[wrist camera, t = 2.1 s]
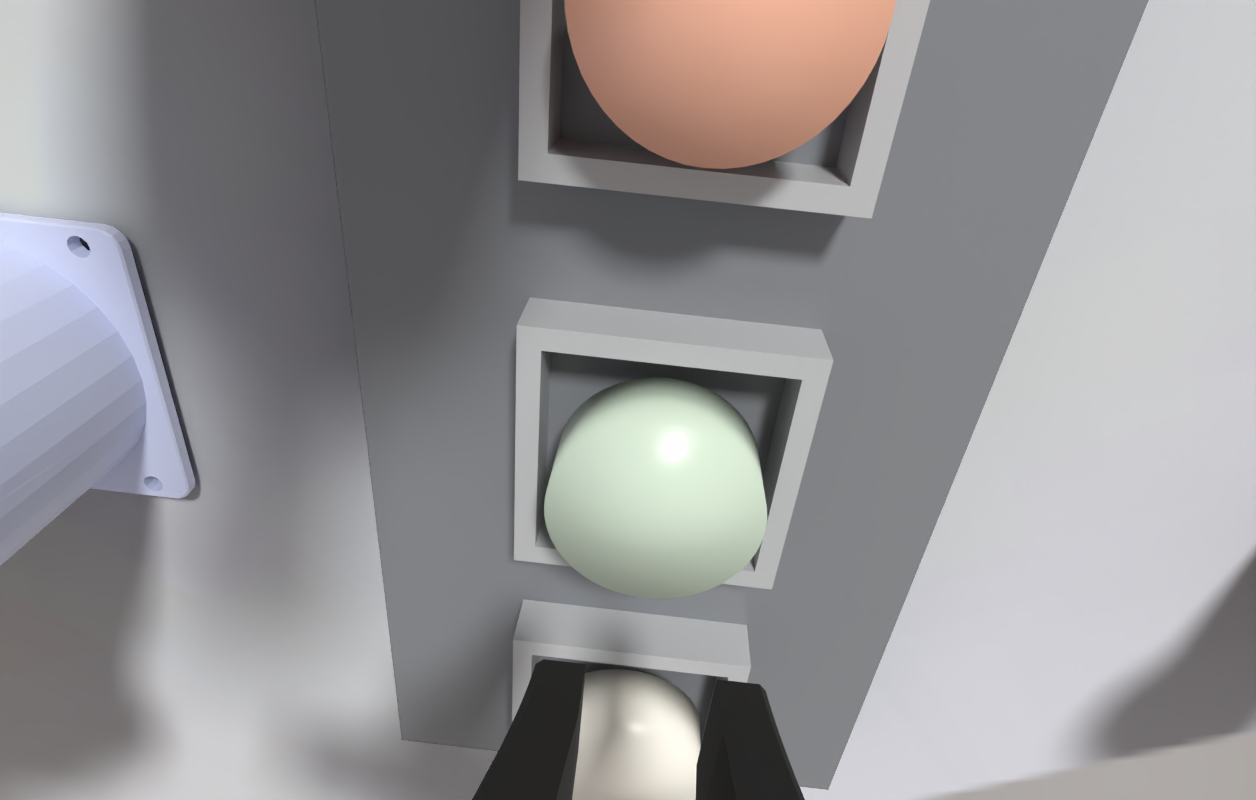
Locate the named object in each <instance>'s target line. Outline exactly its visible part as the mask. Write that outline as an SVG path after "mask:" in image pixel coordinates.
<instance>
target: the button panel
mask: <svg viewBox="0 0 1256 800" xmlns="http://www.w3.org/2000/svg"><path fill="white" fill-rule="evenodd" d="M1147 3H1148V0H896V3H895V8H894V13H893V18H892V21H891V25H890V28H889V31H888V34H887V38H886V41H885V43H884V46H883V48H882V50H881V53H880V55H879V57H878V59H877V62H876V64H875V66H874V67H873V69H872V71H871V73H870V74H869V76H868V78H867V80H866V81H865V83H864V85H863V86H862V87H861V89H860V90H859V92H858V93H857V94H856V96H855V97H854V98H853V100H852V101H851V103H850V104H849V105H848V106H847V107H846V108H845V109H844V110H843V111H842V112H841V114H840V115H839V116H838V117H837V118H836V119H835V120H834V121H833V122H832V123H830V124H829V125H828V126H827V127H826V128H825V129H823V130H822V131H821V132H820V133H819V134H818V135H816V136H815V137H813V138H812V139H810V140H809V141H807V142H806V143H804V144H803V145H801V146H800V147H798V148H796V149H794V150H792V151H790V152H788V153H786V154H784V155H782V156H780V157H777V158H774V159H771V160H769V161H766V162H763V163H759V164H755V165H750V166H746V167H739V168H728V169H713V168H701V167H695V166H689V165H684V164H681V163H678V162H675V161H672V160H669V159H666V158H664V157H662V156H660V155H658V154H656V153H653V152H651V151H649V150H648V149H646V148H645V147H643V146H642V145H640V144H639V143H637V142H635V141H634V140H632V139H631V138H630V137H629V136H628V135H627V134H626V133H624V132H623V131H622V130H621V129H620V128H619V127H617V126H616V124H615V123H614V122H613V121H612V120H611V119H610V118H609V117H608V115H607V114H606V113H605V112H604V111H603V110H602V108H601V107H600V105H599V104H598V102H597V101H596V99H595V98H594V97H593V95H592V94H591V92H590V90H589V88H588V86H587V84H586V82H585V80H584V78H583V77H582V75H581V72H580V69H579V67H578V64H577V62H576V59H575V56H574V54H573V50H572V46H571V42H570V38H569V34H568V29H567V22H566V14H565V4H564V0H315V6H316V14H317V23H318V31H319V40H320V48H321V57H322V65H323V74H324V82H325V91H326V99H327V108H328V116H329V125H330V133H331V142H332V150H333V159H334V167H335V176H336V184H337V193H338V201H339V210H340V218H341V227H342V235H343V244H344V252H345V261H346V269H347V278H348V286H349V295H350V303H351V312H352V320H353V329H354V337H355V346H356V354H357V363H358V371H359V379H360V388H361V396H362V405H363V413H364V422H365V430H366V439H367V447H368V456H369V464H370V473H371V481H372V490H373V498H374V507H375V515H376V524H377V532H378V541H379V549H380V558H381V566H382V575H383V583H384V592H385V600H386V609H387V617H388V626H389V634H390V643H391V651H392V660H393V668H394V677H395V685H396V694H397V702H398V711H399V719H400V728H401V736H402V740H408V741H417V742H425V743H434V744H442V745H451V746H459V747H468V748H476V749H485V750H494V751H499V749H500V747H501V745H502V743H503V741H504V739H505V737H506V734H507V732H508V730H509V728H510V726H511V724H512V722H513V720H514V718H515V715H516V713H517V711H518V709H519V706H520V704H521V702H522V699H523V697H524V694H525V692H526V689H527V687H528V684H529V682H530V679H531V676H532V673H533V670H534V667H535V664H536V663H538V662H540V661H541V660H543V659H546V660H555V661H563V662H572V663H581V664H586V671H585V673H588V672H592V671H597V670H606V669H623V670H633V671H639V672H643V673H647V674H651V675H654V676H656V677H659V678H662V679H664V680H666V681H668V682H670V683H671V684H673V685H675V686H676V687H678V688H679V689H680V690H682V691H683V692H684V693H685V694H686V695H687V696H688V697H689V698H690V699H691V700H692V702H693V703H694V705H695V707H696V709H697V711H698V714H699V717H700V742H701V744H702V740H703V735H704V731H705V727H706V723H707V718H708V714H709V710H710V706H711V701H712V697H713V693H714V689H715V684H716V680H717V679H719V680H727V681H736V682H745V683H753V684H760V685H761V686H762V687H763V688H764V689H765V690H766V693H767V697H768V700H769V704H770V707H771V710H772V713H773V716H774V719H775V722H776V725H777V728H778V731H779V734H780V737H781V740H782V742H783V745H784V748H785V751H786V753H787V756H788V759H789V761H790V764H791V766H792V769H793V772H794V774H795V777H796V779H797V782H798V784H799V786H801V787H809V788H818V789H826V790H828V789H829V786H830V784H831V781H832V779H833V776H834V774H835V771H836V769H837V766H838V764H839V761H840V759H841V757H842V754H843V752H844V749H845V747H846V744H847V742H848V739H849V737H850V734H851V732H852V729H853V727H854V724H855V722H856V720H857V717H858V715H859V712H860V710H861V707H862V705H863V702H864V700H865V697H866V695H867V692H868V690H869V688H870V685H871V683H872V680H873V678H874V675H875V673H876V670H877V668H878V665H879V663H880V660H881V658H882V656H883V653H884V651H885V648H886V646H887V643H888V641H889V638H890V636H891V633H892V631H893V628H894V626H895V623H896V621H897V619H898V616H899V614H900V611H901V609H902V606H903V604H904V601H905V599H906V596H907V594H908V591H909V589H910V587H911V584H912V582H913V579H914V577H915V574H916V572H917V569H918V567H919V564H920V562H921V559H922V557H923V555H924V552H925V550H926V547H927V545H928V542H929V540H930V537H931V535H932V532H933V530H934V527H935V525H936V522H937V520H938V518H939V515H940V513H941V510H942V508H943V505H944V503H945V500H946V498H947V495H948V493H949V490H950V488H951V486H952V483H953V481H954V478H955V476H956V473H957V471H958V468H959V466H960V463H961V461H962V458H963V456H964V453H965V451H966V449H967V446H968V444H969V441H970V439H971V436H972V434H973V431H974V429H975V426H976V424H977V421H978V419H979V417H980V414H981V412H982V409H983V407H984V404H985V402H986V399H987V397H988V394H989V392H990V389H991V387H992V385H993V382H994V380H995V377H996V375H997V372H998V370H999V367H1000V365H1001V362H1002V360H1003V357H1004V355H1005V352H1006V350H1007V348H1008V345H1009V343H1010V340H1011V338H1012V335H1013V333H1014V330H1015V328H1016V325H1017V323H1018V320H1019V318H1020V316H1021V313H1022V311H1023V308H1024V306H1025V303H1026V301H1027V298H1028V296H1029V293H1030V291H1031V288H1032V286H1033V284H1034V281H1035V279H1036V276H1037V274H1038V271H1039V269H1040V266H1041V264H1042V261H1043V259H1044V256H1045V254H1046V251H1047V249H1048V247H1049V244H1050V242H1051V239H1052V237H1053V234H1054V232H1055V229H1056V227H1057V224H1058V222H1059V219H1060V217H1061V215H1062V212H1063V210H1064V207H1065V205H1066V202H1067V200H1068V197H1069V195H1070V192H1071V190H1072V187H1073V185H1074V183H1075V180H1076V178H1077V175H1078V173H1079V170H1080V168H1081V165H1082V163H1083V160H1084V158H1085V155H1086V153H1087V150H1088V148H1089V146H1090V143H1091V141H1092V138H1093V136H1094V133H1095V131H1096V128H1097V126H1098V123H1099V121H1100V118H1101V116H1102V114H1103V111H1104V109H1105V106H1106V104H1107V101H1108V99H1109V96H1110V94H1111V91H1112V89H1113V86H1114V84H1115V81H1116V79H1117V77H1118V74H1119V72H1120V69H1121V67H1122V64H1123V62H1124V59H1125V57H1126V54H1127V52H1128V49H1129V47H1130V45H1131V42H1132V40H1133V37H1134V35H1135V32H1136V30H1137V27H1138V25H1139V22H1140V20H1141V17H1142V15H1143V13H1144V10H1145V8H1146V5H1147ZM650 377H661V378H673V379H679V380H684V381H687V382H691V383H694V384H697V385H700V386H702V387H704V388H707V389H709V390H711V391H713V392H714V393H716V394H718V395H719V396H721V397H722V398H724V399H725V400H726V401H728V402H729V403H730V404H731V405H732V406H733V407H734V408H735V409H736V410H737V411H738V412H739V413H740V414H741V415H742V416H743V418H744V419H745V420H746V422H747V423H748V425H749V427H750V429H751V431H752V432H753V435H754V438H755V441H756V443H757V448H758V454H759V460H760V467H761V473H762V479H763V486H764V492H765V499H766V505H767V524H766V530H765V534H764V537H763V540H762V542H761V544H760V546H759V548H758V550H757V552H756V553H755V555H754V556H753V557H752V559H751V560H750V562H749V563H748V564H747V565H746V566H745V567H744V568H743V569H742V570H741V571H739V572H738V573H737V574H736V575H734V576H733V577H732V578H730V579H729V580H727V581H725V582H724V583H722V584H720V585H718V586H716V587H714V588H712V589H709V590H707V591H704V592H701V593H698V594H694V595H689V596H685V597H678V598H668V599H652V598H641V597H635V596H629V595H625V594H622V593H618V592H615V591H612V590H609V589H607V588H604V587H602V586H600V585H598V584H596V583H594V582H592V581H591V580H589V579H587V578H586V577H584V576H583V575H581V574H580V573H579V572H577V571H576V570H575V569H574V568H572V567H571V566H570V565H569V564H568V562H567V561H566V560H565V559H564V558H563V557H562V556H561V554H560V553H559V552H558V550H557V549H556V547H555V546H554V544H553V542H552V540H551V538H550V535H549V533H548V530H547V527H546V522H545V517H544V502H545V494H546V491H547V487H548V483H549V479H550V476H551V472H552V468H553V464H554V460H555V457H556V453H557V449H558V445H559V442H560V438H561V435H562V432H563V430H564V428H565V426H566V424H567V422H568V420H569V419H570V418H571V416H572V415H573V413H574V412H575V411H576V410H577V409H578V408H579V407H580V406H581V405H582V404H583V403H584V402H585V401H586V400H588V399H589V398H590V397H591V396H593V395H595V394H596V393H598V392H600V391H601V390H603V389H605V388H608V387H610V386H612V385H614V384H618V383H621V382H624V381H627V380H633V379H639V378H650Z"/></svg>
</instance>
